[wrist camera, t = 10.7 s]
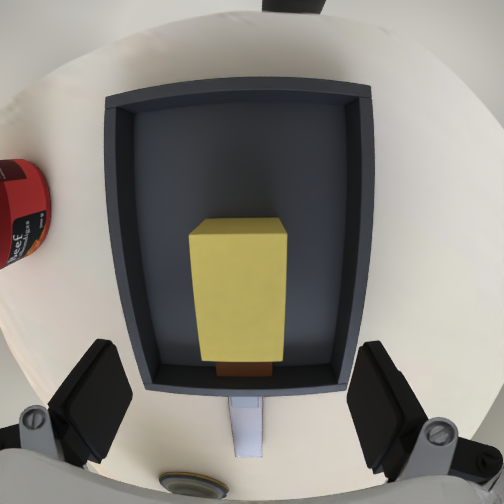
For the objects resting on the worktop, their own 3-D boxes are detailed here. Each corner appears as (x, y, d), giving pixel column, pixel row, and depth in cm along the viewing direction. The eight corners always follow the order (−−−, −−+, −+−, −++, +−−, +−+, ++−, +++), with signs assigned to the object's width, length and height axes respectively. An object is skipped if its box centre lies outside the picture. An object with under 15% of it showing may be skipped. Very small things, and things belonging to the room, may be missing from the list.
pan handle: (228, 366, 20) (225, 391, 17) (262, 366, 20) (262, 391, 17) (236, 443, 23) (234, 464, 20) (261, 444, 23) (262, 465, 20)
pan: (126, 106, 15) (105, 96, 12) (353, 97, 15) (371, 85, 12) (156, 366, 20) (145, 390, 17) (337, 366, 20) (346, 390, 17)
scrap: (213, 321, 18) (211, 331, 17) (273, 321, 18) (274, 331, 17) (218, 366, 19) (216, 376, 18) (271, 366, 19) (272, 376, 18)
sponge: (205, 218, 16) (188, 234, 12) (279, 217, 16) (287, 233, 12) (212, 321, 18) (201, 361, 14) (277, 321, 18) (282, 361, 14)
